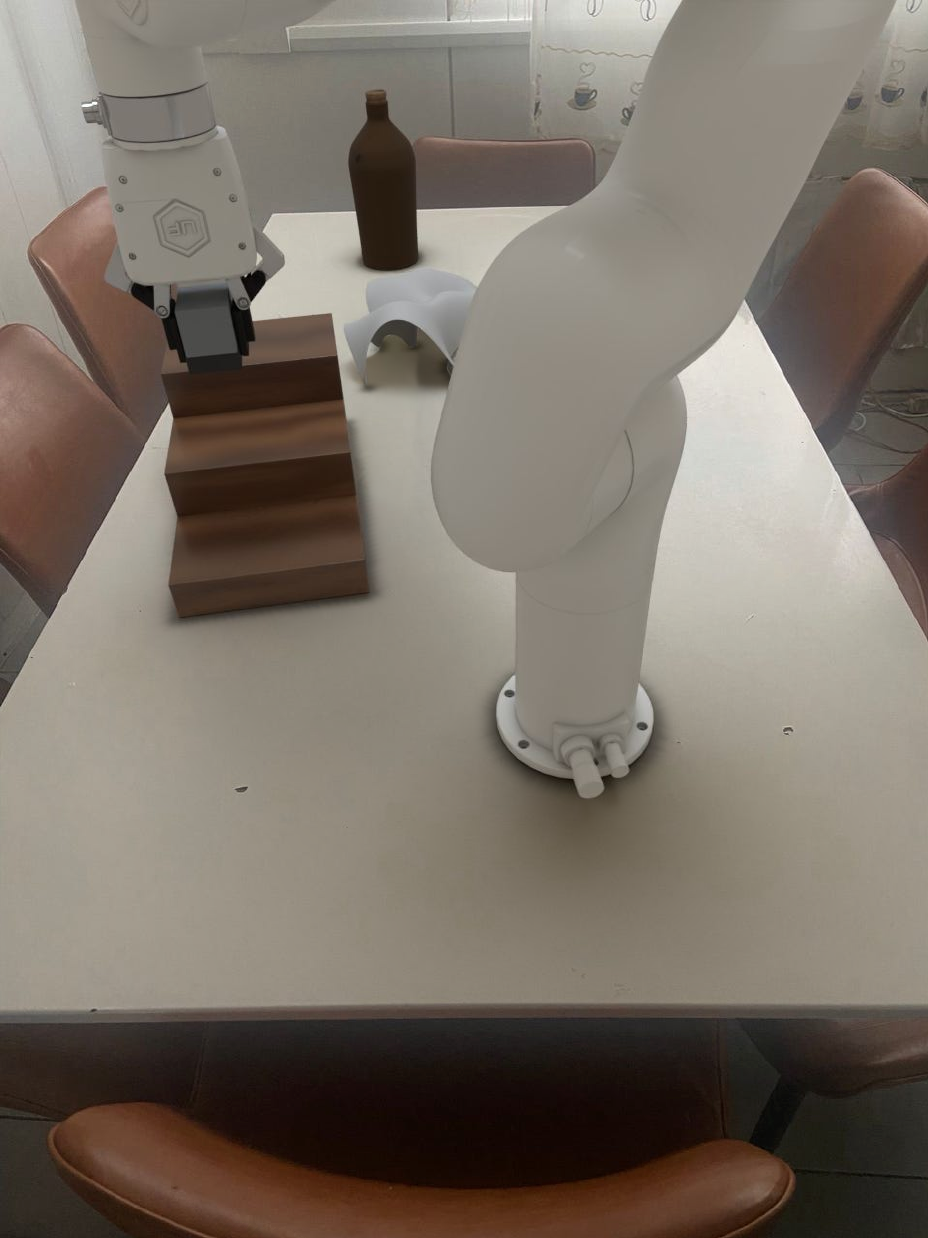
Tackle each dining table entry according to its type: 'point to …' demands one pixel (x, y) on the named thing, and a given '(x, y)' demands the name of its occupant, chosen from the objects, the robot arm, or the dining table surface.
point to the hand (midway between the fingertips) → (215, 350)
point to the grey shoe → (207, 328)
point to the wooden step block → (263, 475)
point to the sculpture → (412, 312)
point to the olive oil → (384, 189)
